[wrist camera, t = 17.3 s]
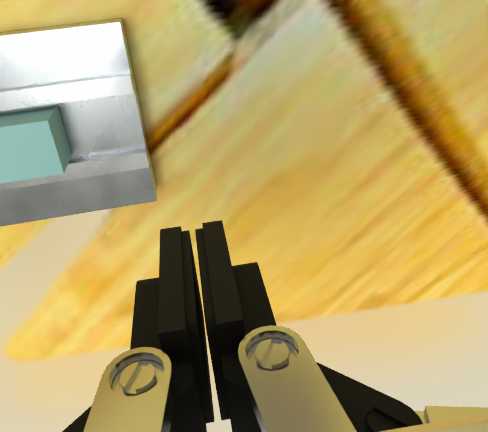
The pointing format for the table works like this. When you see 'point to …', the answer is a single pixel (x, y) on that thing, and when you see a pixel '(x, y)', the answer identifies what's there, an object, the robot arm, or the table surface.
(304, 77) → the table surface
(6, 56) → the socket plate
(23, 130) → the lock bar
